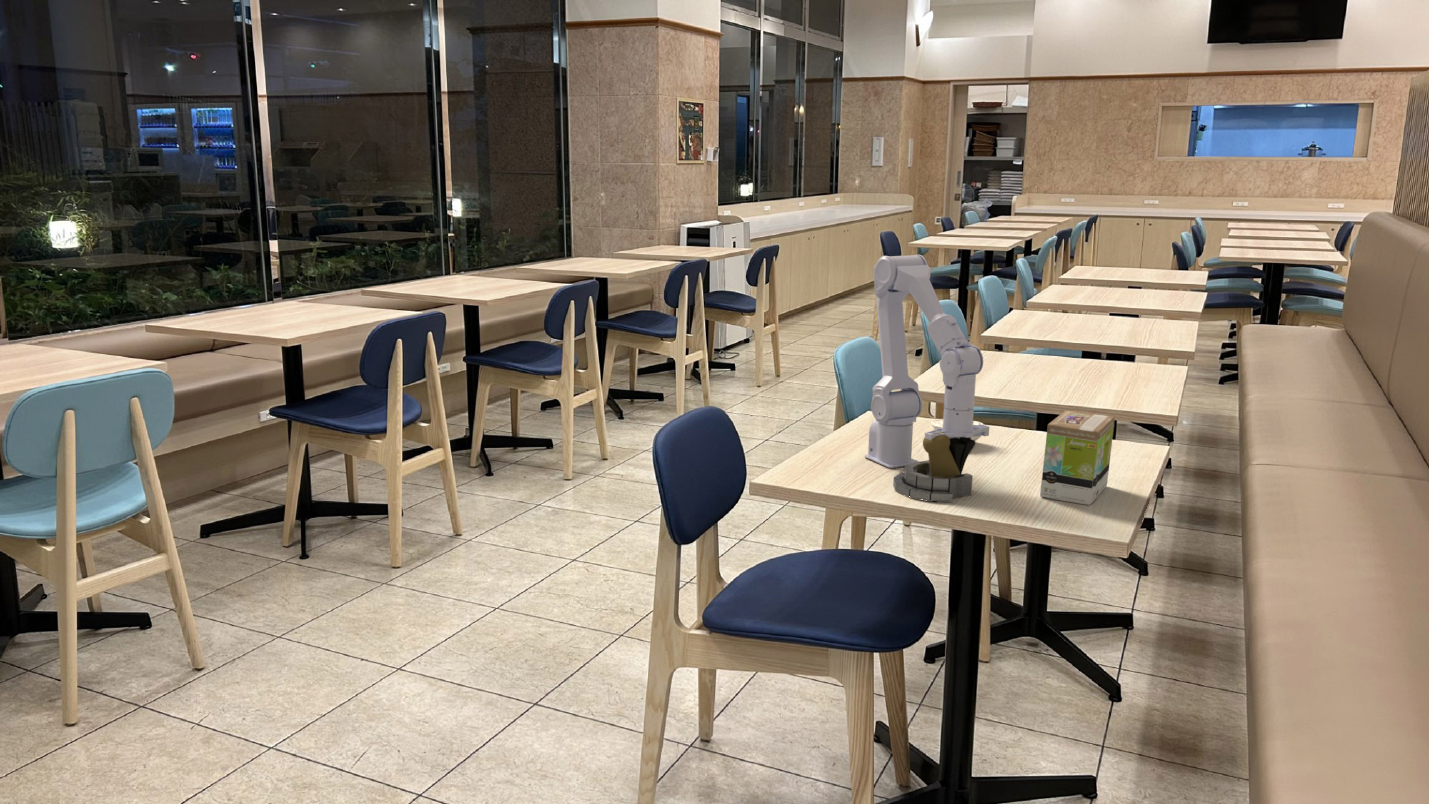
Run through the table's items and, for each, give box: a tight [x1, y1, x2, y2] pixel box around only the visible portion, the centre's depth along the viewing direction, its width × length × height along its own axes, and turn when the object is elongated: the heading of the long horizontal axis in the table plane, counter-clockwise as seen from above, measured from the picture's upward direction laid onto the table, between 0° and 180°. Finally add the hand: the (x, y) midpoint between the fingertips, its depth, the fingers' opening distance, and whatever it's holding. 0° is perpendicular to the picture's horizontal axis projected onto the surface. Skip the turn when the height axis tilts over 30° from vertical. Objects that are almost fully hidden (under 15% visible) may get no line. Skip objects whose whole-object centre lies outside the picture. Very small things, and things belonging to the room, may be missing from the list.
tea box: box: [1039, 410, 1115, 506], centre depth 204 cm, size 15×10×15 cm, turn 149°
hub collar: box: [892, 459, 973, 503], centre depth 205 cm, size 16×12×4 cm
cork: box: [922, 431, 960, 477], centre depth 205 cm, size 6×6×11 cm
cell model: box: [930, 418, 985, 442], centre depth 239 cm, size 10×12×7 cm
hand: (954, 474), depth 208 cm, fingers closed, pressing on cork
